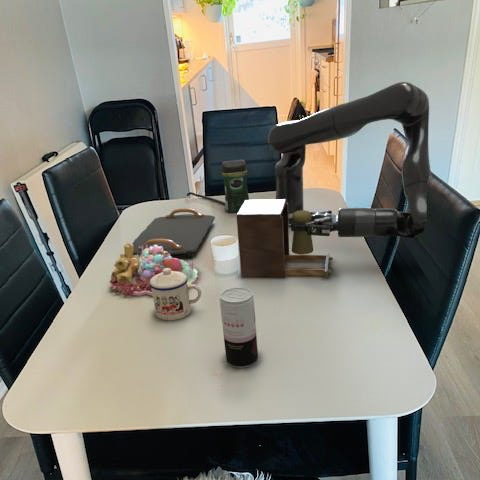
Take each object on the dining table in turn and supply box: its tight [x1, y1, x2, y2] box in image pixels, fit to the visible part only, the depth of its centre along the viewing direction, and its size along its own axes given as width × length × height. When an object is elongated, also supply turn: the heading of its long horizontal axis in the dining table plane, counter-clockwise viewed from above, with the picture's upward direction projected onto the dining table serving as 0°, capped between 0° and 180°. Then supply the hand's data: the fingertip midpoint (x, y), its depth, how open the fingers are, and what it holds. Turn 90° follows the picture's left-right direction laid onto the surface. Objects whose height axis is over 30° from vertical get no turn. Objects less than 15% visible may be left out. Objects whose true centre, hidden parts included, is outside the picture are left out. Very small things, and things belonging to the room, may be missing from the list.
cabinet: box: [235, 198, 291, 279], centre depth 137 cm, size 12×13×18 cm
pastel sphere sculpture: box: [109, 243, 199, 297], centre depth 139 cm, size 25×24×9 cm
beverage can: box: [219, 287, 259, 369], centre depth 98 cm, size 7×7×15 cm
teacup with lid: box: [150, 268, 202, 321], centre depth 120 cm, size 12×9×12 cm
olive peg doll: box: [291, 209, 314, 255], centre depth 134 cm, size 6×6×11 cm
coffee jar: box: [221, 159, 250, 213], centre depth 189 cm, size 10×8×19 cm
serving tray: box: [131, 207, 216, 259], centre depth 166 cm, size 39×23×6 cm, turn 172°
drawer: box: [284, 252, 334, 278], centre depth 139 cm, size 14×13×2 cm
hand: (292, 223), depth 134 cm, fingers closed on olive peg doll, 5 cm apart
